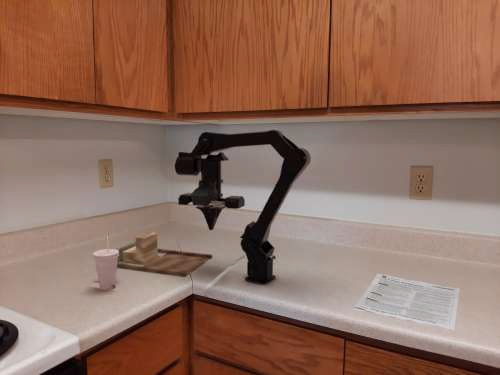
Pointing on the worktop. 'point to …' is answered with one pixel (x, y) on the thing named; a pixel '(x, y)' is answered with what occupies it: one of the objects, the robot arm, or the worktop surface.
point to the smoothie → (106, 266)
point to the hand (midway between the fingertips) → (211, 229)
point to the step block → (142, 249)
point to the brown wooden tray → (166, 262)
